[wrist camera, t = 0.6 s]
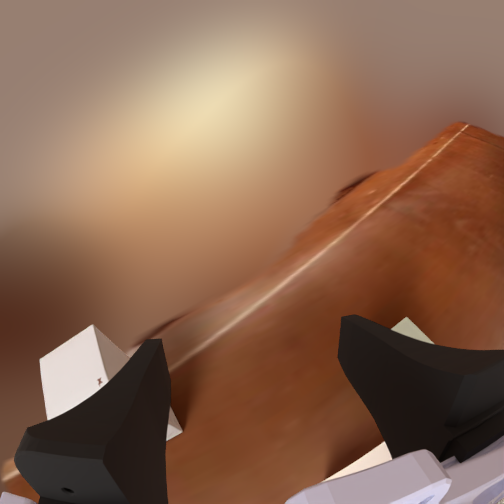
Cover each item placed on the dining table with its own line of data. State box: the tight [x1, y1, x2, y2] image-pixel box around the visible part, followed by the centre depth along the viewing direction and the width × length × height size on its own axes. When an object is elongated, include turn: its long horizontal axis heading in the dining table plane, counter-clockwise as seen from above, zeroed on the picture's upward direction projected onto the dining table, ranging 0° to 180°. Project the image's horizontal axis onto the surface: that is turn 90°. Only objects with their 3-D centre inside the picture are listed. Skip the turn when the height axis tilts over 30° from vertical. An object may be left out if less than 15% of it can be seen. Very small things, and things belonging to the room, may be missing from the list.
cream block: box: [322, 441, 392, 482], centre depth 18 cm, size 8×8×4 cm
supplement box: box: [40, 325, 183, 441], centre depth 26 cm, size 7×7×13 cm
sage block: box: [391, 317, 434, 344], centre depth 26 cm, size 5×5×5 cm
